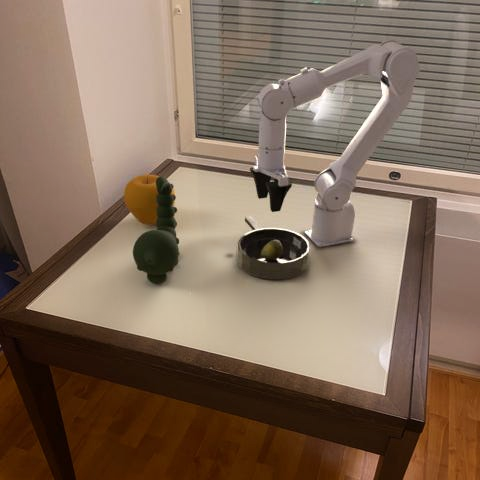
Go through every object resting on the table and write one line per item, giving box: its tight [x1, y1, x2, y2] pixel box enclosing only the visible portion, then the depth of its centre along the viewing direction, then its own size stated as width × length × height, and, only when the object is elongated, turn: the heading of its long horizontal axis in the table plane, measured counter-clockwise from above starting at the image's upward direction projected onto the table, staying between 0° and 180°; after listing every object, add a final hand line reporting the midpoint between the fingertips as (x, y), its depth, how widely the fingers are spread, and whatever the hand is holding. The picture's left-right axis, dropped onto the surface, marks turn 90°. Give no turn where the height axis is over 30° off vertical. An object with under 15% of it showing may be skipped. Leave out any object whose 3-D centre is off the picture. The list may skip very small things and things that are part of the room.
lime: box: [261, 240, 283, 261], centre depth 112 cm, size 4×5×5 cm
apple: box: [123, 174, 176, 226], centre depth 127 cm, size 13×13×11 cm
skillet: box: [236, 227, 311, 280], centre depth 113 cm, size 16×16×4 cm
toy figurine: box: [132, 175, 181, 284], centre depth 107 cm, size 9×19×25 cm
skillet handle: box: [244, 215, 264, 235], centre depth 120 cm, size 2×8×1 cm, turn 21°
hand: (268, 204), depth 117 cm, fingers open, 7 cm apart
